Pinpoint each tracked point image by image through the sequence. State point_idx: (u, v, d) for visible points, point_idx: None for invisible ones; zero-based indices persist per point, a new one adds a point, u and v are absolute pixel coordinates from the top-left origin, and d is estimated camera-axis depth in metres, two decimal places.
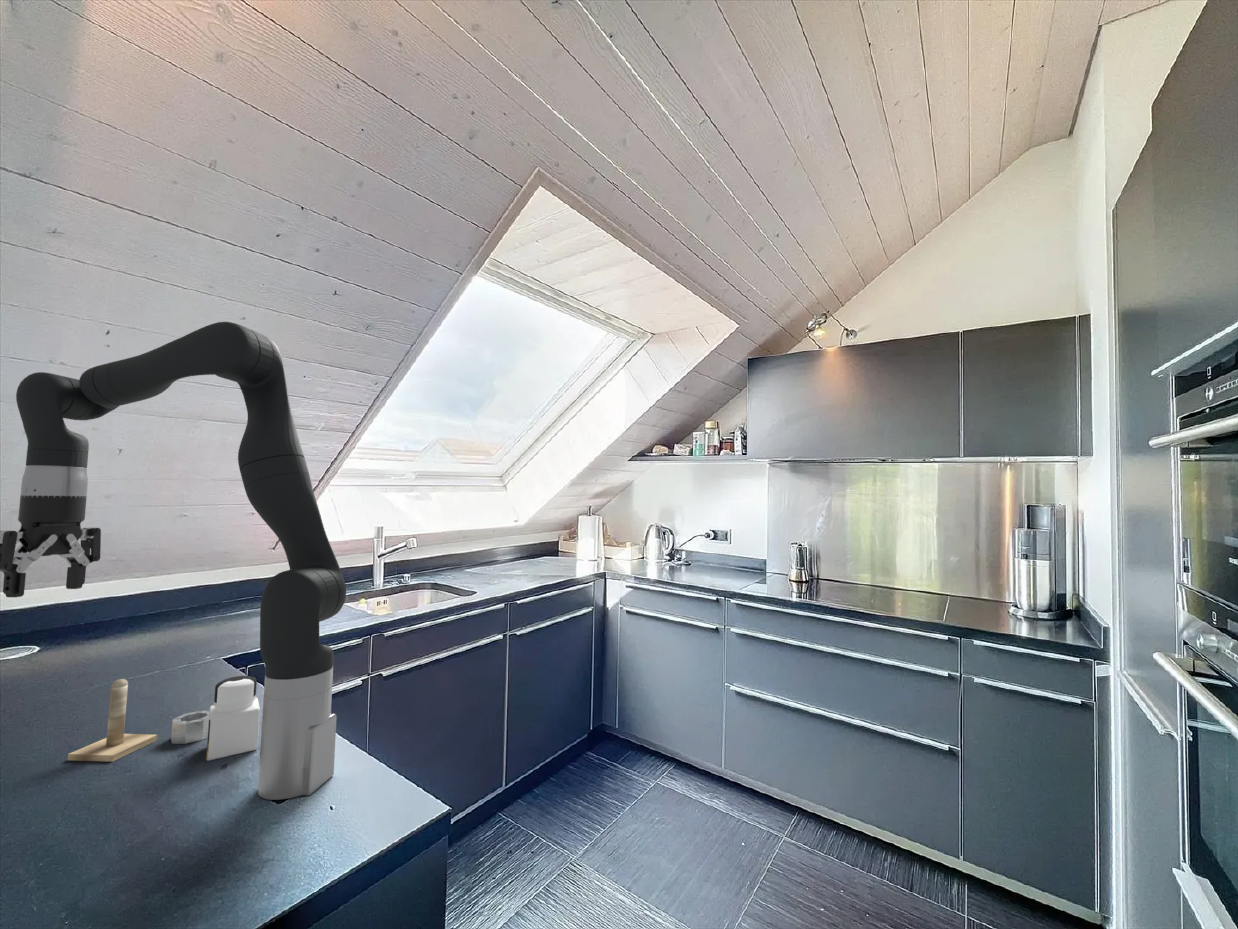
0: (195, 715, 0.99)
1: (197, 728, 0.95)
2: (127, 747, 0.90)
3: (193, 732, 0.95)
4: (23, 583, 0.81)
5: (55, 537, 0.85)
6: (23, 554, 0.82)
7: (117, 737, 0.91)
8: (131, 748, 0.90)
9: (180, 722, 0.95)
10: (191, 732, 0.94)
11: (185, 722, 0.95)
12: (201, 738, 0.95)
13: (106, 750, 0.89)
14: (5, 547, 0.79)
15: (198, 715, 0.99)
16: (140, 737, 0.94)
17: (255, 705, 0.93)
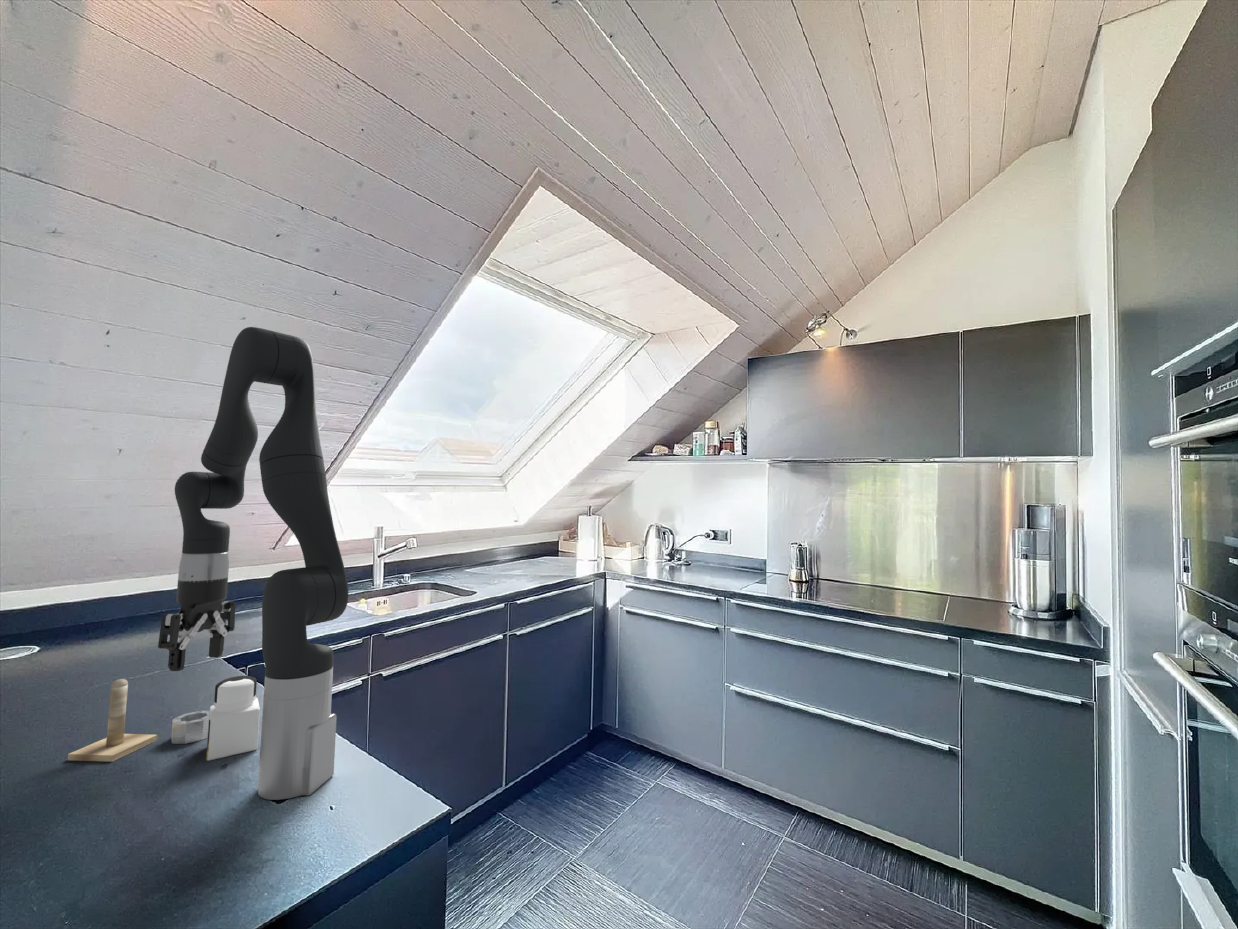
0: (195, 715, 0.99)
1: (197, 728, 0.95)
2: (127, 747, 0.90)
3: (193, 732, 0.95)
4: (183, 658, 0.94)
5: (206, 615, 0.98)
6: (183, 632, 0.95)
7: (117, 737, 0.91)
8: (131, 748, 0.90)
9: (180, 722, 0.95)
10: (191, 732, 0.94)
11: (185, 722, 0.95)
12: (201, 738, 0.95)
13: (106, 750, 0.89)
14: (172, 629, 0.92)
15: (198, 715, 0.99)
16: (140, 737, 0.94)
17: (255, 705, 0.93)
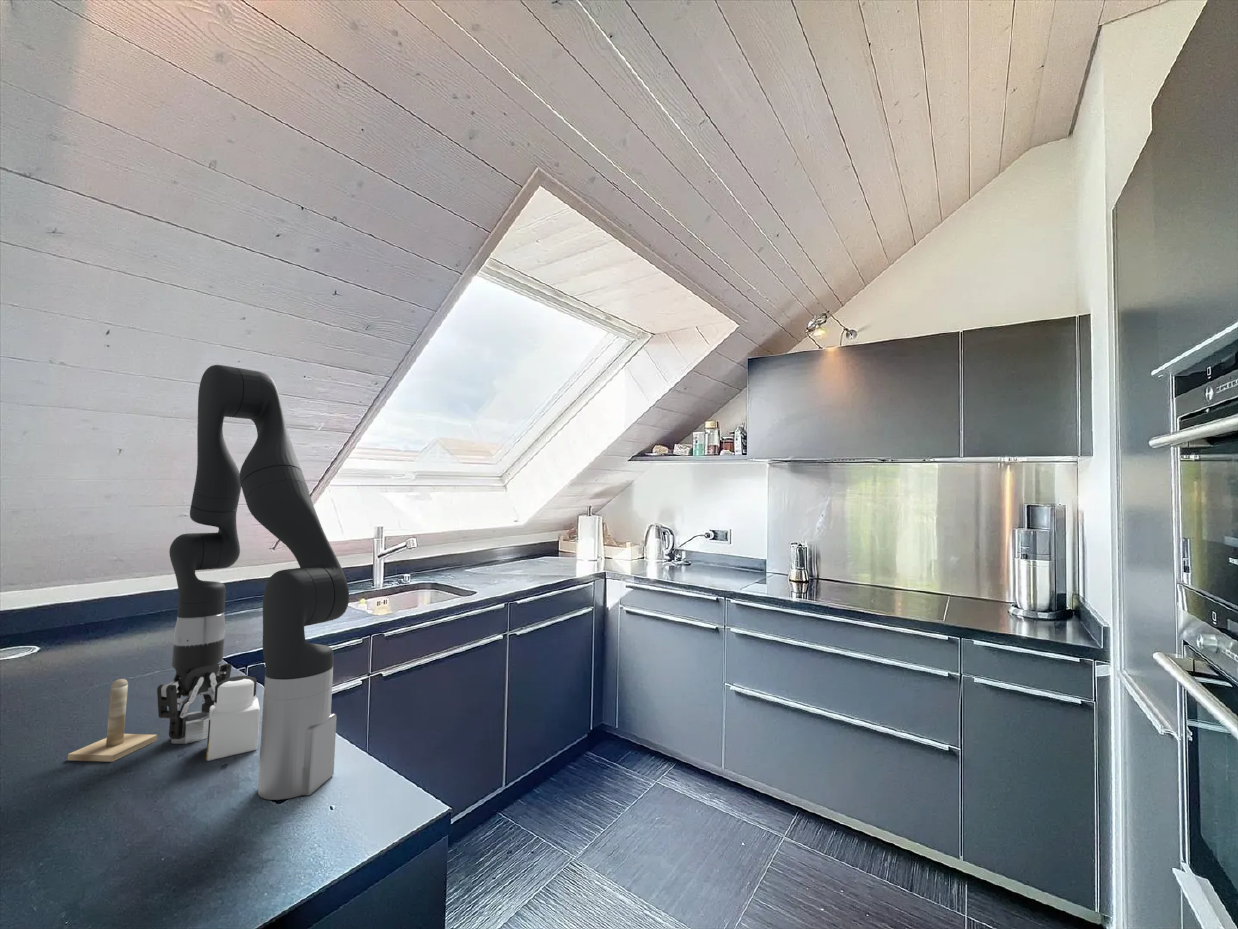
0: (195, 715, 0.99)
1: (197, 728, 0.95)
2: (127, 747, 0.90)
3: (193, 732, 0.95)
4: (184, 726, 0.94)
5: (202, 679, 0.97)
6: (181, 700, 0.94)
7: (117, 737, 0.91)
8: (131, 748, 0.90)
9: None
10: (191, 732, 0.94)
11: None
12: (201, 738, 0.95)
13: (106, 750, 0.89)
14: (170, 700, 0.91)
15: (198, 715, 0.99)
16: (140, 737, 0.94)
17: (255, 705, 0.93)
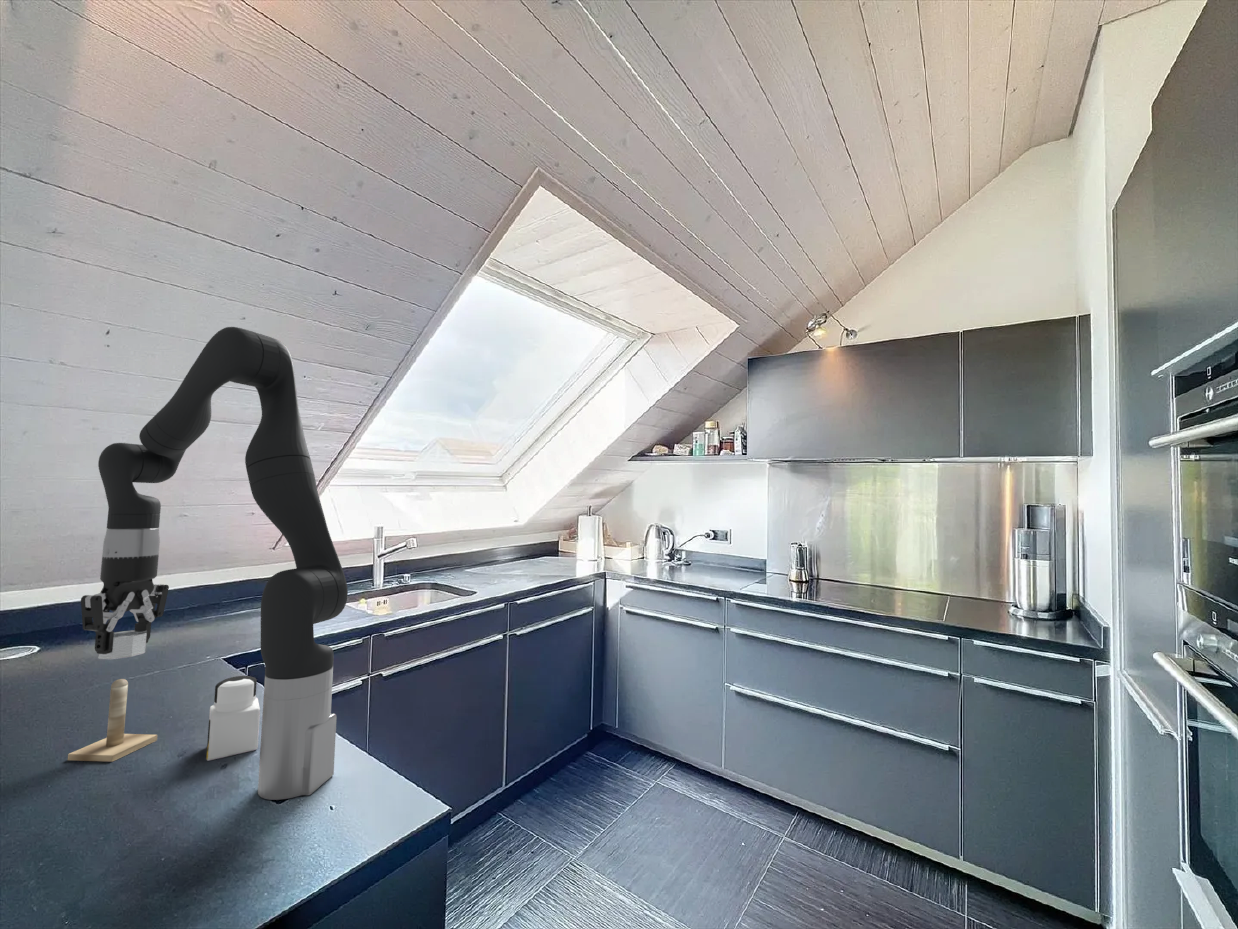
0: (127, 634, 0.95)
1: (126, 644, 0.91)
2: (127, 747, 0.90)
3: (122, 648, 0.91)
4: (112, 641, 0.90)
5: (132, 594, 0.93)
6: (109, 614, 0.90)
7: (117, 737, 0.91)
8: (131, 748, 0.90)
9: None
10: (119, 648, 0.90)
11: None
12: (130, 655, 0.91)
13: (106, 750, 0.89)
14: (94, 611, 0.87)
15: (130, 634, 0.95)
16: (140, 737, 0.94)
17: (255, 705, 0.93)
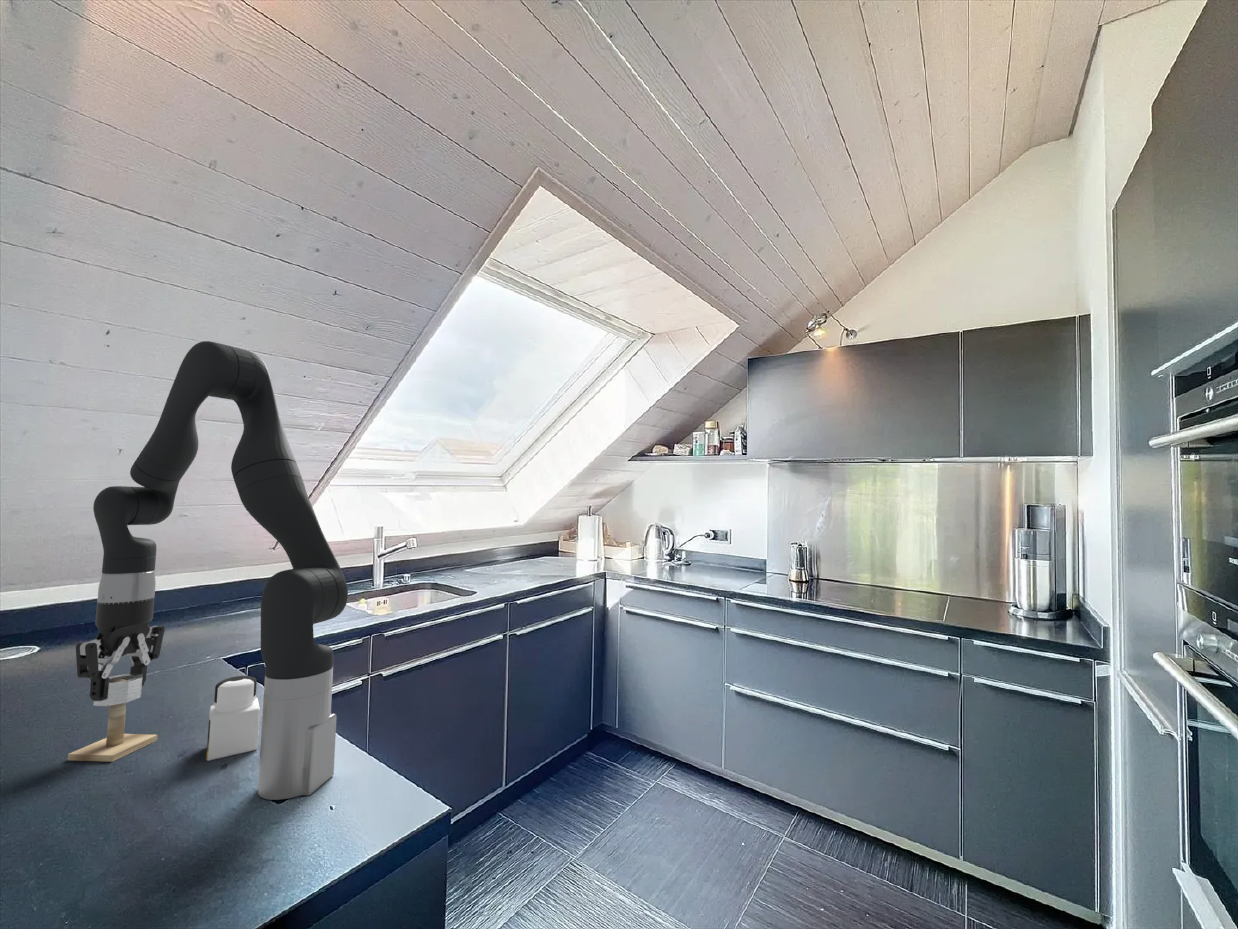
0: (122, 678, 0.94)
1: (121, 690, 0.90)
2: (127, 747, 0.90)
3: (117, 694, 0.90)
4: (107, 687, 0.89)
5: (128, 639, 0.92)
6: (104, 660, 0.89)
7: (117, 737, 0.91)
8: (131, 748, 0.90)
9: None
10: (114, 694, 0.90)
11: None
12: (125, 701, 0.91)
13: (106, 750, 0.89)
14: (89, 659, 0.86)
15: (125, 678, 0.94)
16: (140, 737, 0.94)
17: (255, 705, 0.93)
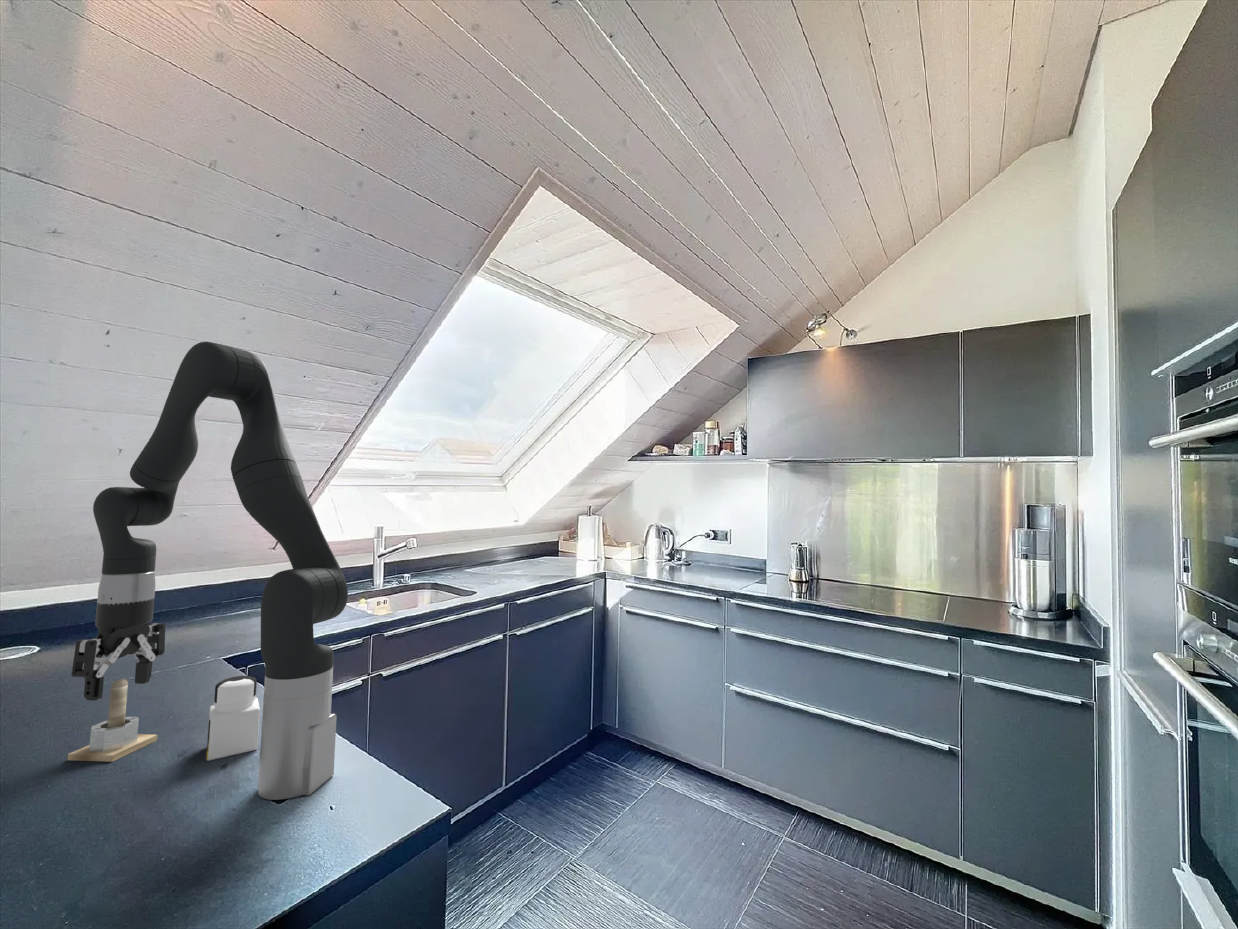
0: None
1: (117, 736, 0.90)
2: (127, 747, 0.90)
3: (113, 740, 0.89)
4: (101, 687, 0.88)
5: (128, 640, 0.92)
6: (101, 659, 0.89)
7: None
8: (131, 748, 0.90)
9: (99, 729, 0.89)
10: (110, 740, 0.89)
11: (104, 729, 0.89)
12: (122, 746, 0.90)
13: None
14: (87, 656, 0.86)
15: None
16: (140, 737, 0.94)
17: (255, 705, 0.93)
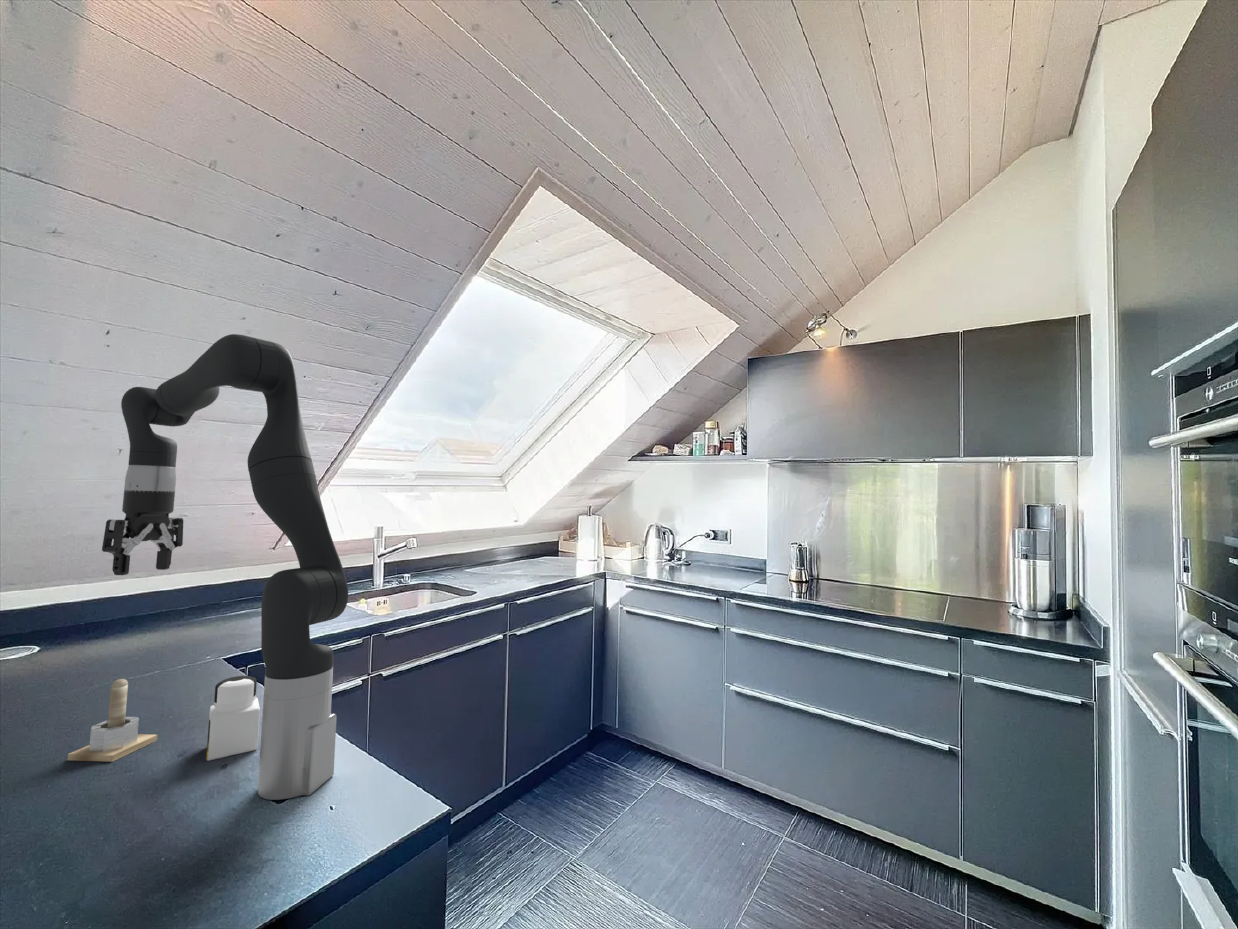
0: None
1: (117, 736, 0.90)
2: (127, 747, 0.90)
3: (113, 740, 0.89)
4: (128, 563, 0.97)
5: (152, 525, 1.01)
6: (128, 539, 0.98)
7: None
8: (131, 748, 0.90)
9: (99, 729, 0.89)
10: (110, 740, 0.89)
11: (104, 729, 0.89)
12: (122, 746, 0.90)
13: None
14: (116, 533, 0.95)
15: None
16: (140, 737, 0.94)
17: (255, 705, 0.93)
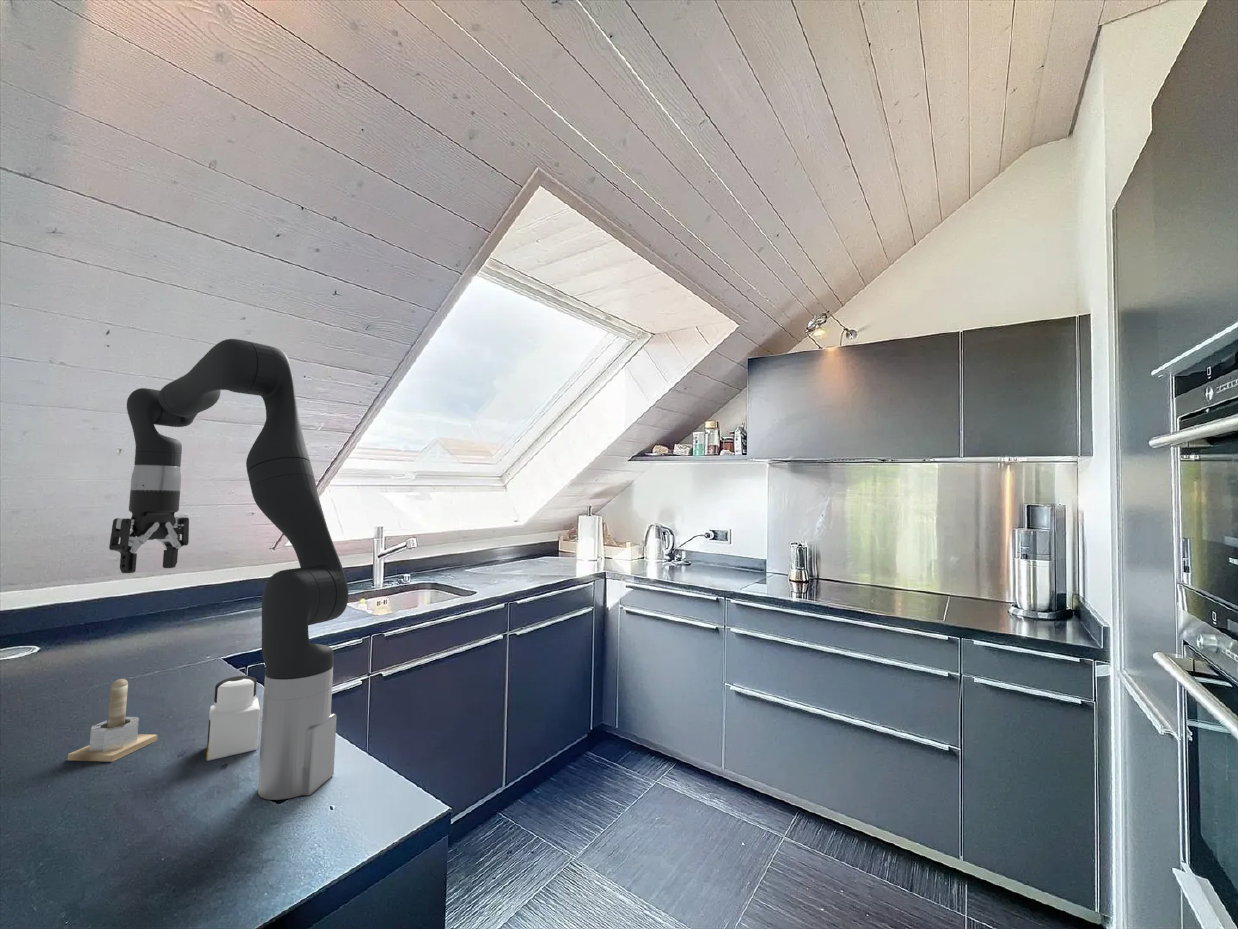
0: None
1: (117, 736, 0.90)
2: (127, 747, 0.90)
3: (113, 740, 0.89)
4: (135, 562, 0.99)
5: (157, 524, 1.03)
6: (134, 538, 1.00)
7: None
8: (131, 748, 0.90)
9: (99, 729, 0.89)
10: (110, 740, 0.89)
11: (104, 729, 0.89)
12: (122, 746, 0.90)
13: None
14: (123, 532, 0.97)
15: None
16: (140, 737, 0.94)
17: (255, 705, 0.93)
